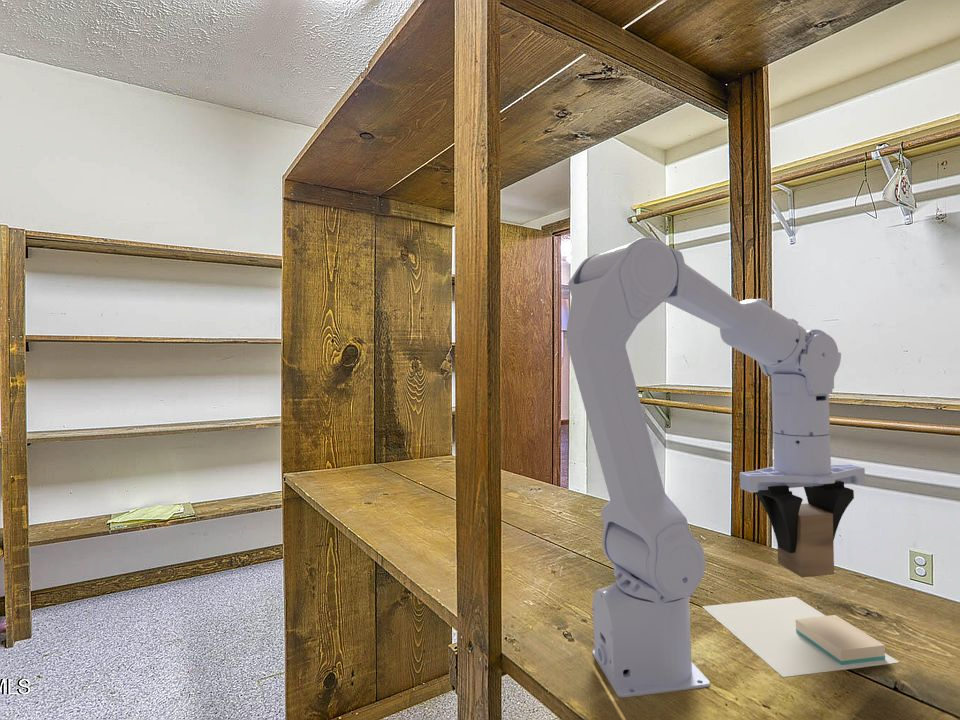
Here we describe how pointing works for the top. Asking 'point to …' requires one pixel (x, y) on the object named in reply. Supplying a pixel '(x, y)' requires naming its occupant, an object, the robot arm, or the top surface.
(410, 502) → the top surface
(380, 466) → the top surface
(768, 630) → the mat
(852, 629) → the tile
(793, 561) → the walnut block
